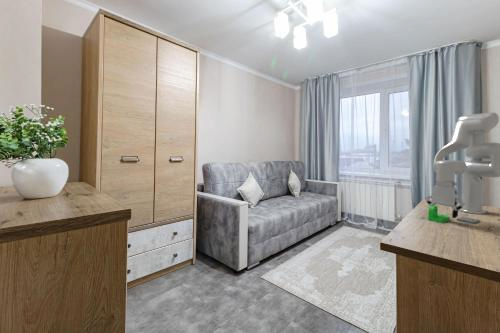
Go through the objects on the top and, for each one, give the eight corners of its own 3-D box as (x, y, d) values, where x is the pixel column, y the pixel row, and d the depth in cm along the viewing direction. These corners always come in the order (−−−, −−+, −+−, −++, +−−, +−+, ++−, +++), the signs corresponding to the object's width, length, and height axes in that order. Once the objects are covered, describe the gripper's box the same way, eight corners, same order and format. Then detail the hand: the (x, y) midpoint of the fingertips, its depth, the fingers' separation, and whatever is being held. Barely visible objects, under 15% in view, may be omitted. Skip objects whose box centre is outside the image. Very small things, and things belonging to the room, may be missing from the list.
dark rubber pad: (463, 218, 128) (463, 216, 128) (480, 221, 122) (480, 220, 122) (456, 220, 124) (456, 218, 124) (474, 223, 118) (474, 222, 118)
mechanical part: (441, 223, 120) (442, 208, 119) (428, 220, 125) (428, 206, 125) (451, 220, 126) (452, 205, 125) (438, 217, 131) (439, 203, 130)
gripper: (469, 185, 117) (467, 218, 118) (429, 181, 132) (428, 210, 133) (462, 186, 113) (460, 220, 115) (422, 182, 129) (421, 212, 130)
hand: (443, 215), depth 124 cm, fingers open, 9 cm apart
